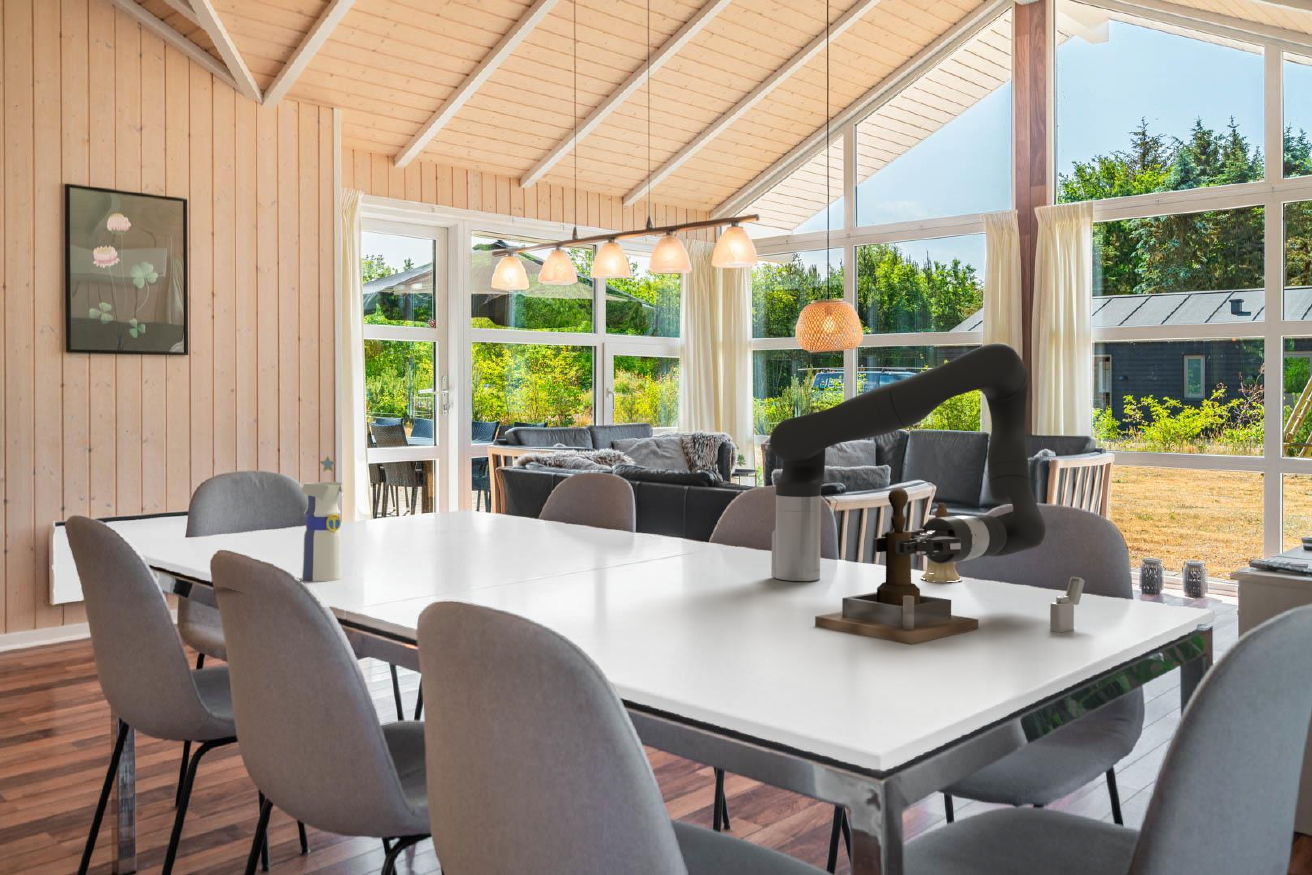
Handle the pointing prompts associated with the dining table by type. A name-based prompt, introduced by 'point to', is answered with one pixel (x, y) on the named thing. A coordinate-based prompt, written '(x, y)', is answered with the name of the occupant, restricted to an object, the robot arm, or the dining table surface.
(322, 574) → the cream gift bag
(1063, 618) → the lighter
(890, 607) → the collar plate
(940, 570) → the hand bell
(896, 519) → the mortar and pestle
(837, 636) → the dining table surface
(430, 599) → the dining table surface
